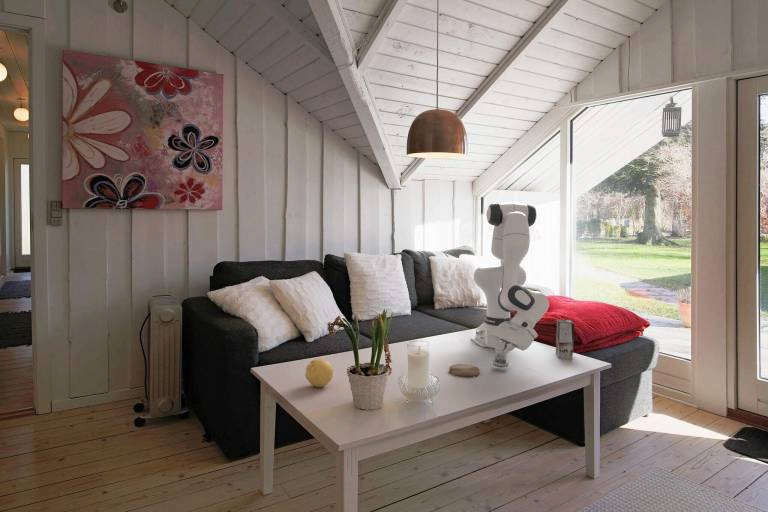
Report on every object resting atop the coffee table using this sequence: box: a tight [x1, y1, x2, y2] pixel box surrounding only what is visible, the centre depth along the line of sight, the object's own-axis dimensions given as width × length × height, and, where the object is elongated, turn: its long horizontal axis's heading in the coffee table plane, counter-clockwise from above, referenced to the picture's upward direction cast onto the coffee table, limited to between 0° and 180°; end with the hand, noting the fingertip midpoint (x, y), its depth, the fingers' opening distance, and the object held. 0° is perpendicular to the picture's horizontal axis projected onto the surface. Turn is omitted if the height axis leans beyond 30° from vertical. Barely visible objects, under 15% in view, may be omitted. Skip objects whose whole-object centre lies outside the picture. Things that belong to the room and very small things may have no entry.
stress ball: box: [305, 358, 334, 388], centre depth 184 cm, size 10×10×10 cm
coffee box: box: [555, 319, 575, 360], centre depth 230 cm, size 9×6×16 cm
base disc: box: [448, 363, 480, 378], centre depth 204 cm, size 12×12×2 cm
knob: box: [492, 340, 510, 368], centre depth 208 cm, size 6×6×10 cm
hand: (499, 350), depth 208 cm, fingers closed on knob, 4 cm apart
